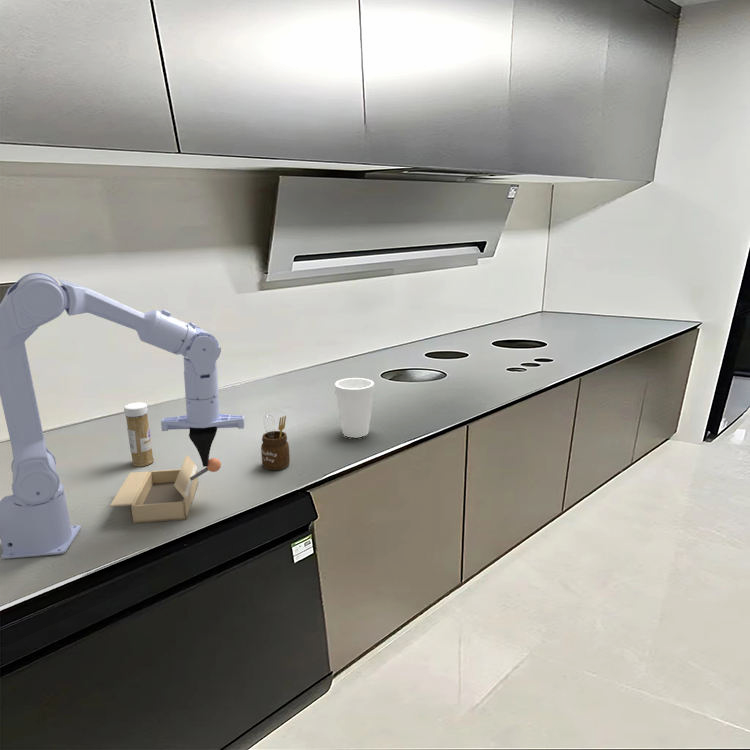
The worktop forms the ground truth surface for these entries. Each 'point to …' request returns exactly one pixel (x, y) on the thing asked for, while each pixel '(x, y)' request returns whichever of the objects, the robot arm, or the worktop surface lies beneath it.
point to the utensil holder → (275, 448)
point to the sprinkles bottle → (139, 434)
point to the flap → (192, 474)
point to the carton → (155, 496)
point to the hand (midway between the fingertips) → (206, 464)
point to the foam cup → (354, 405)
